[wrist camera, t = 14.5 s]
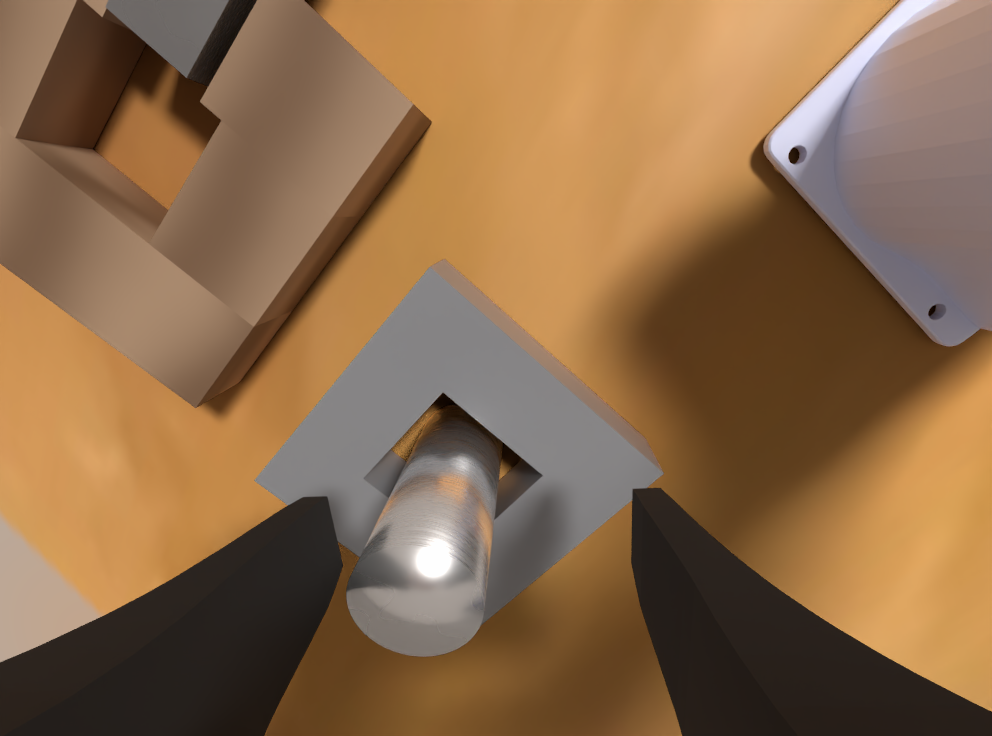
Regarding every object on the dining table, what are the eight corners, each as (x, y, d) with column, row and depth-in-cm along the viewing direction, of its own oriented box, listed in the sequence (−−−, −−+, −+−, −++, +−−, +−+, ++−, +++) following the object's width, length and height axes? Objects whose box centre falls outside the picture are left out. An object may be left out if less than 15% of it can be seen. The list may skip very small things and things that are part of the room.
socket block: (431, 121, 15) (413, 104, 12) (238, 382, 18) (195, 408, 16) (95, -198, 13) (-4, -292, 10) (-51, 160, 16) (-151, 151, 14)
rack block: (645, 438, 18) (664, 473, 15) (475, 587, 20) (467, 636, 18) (444, 258, 16) (430, 267, 14) (288, 446, 19) (254, 480, 16)
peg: (502, 404, 18) (483, 549, 10) (502, 478, 19) (484, 660, 11) (419, 402, 18) (338, 543, 10) (423, 475, 19) (353, 652, 11)
